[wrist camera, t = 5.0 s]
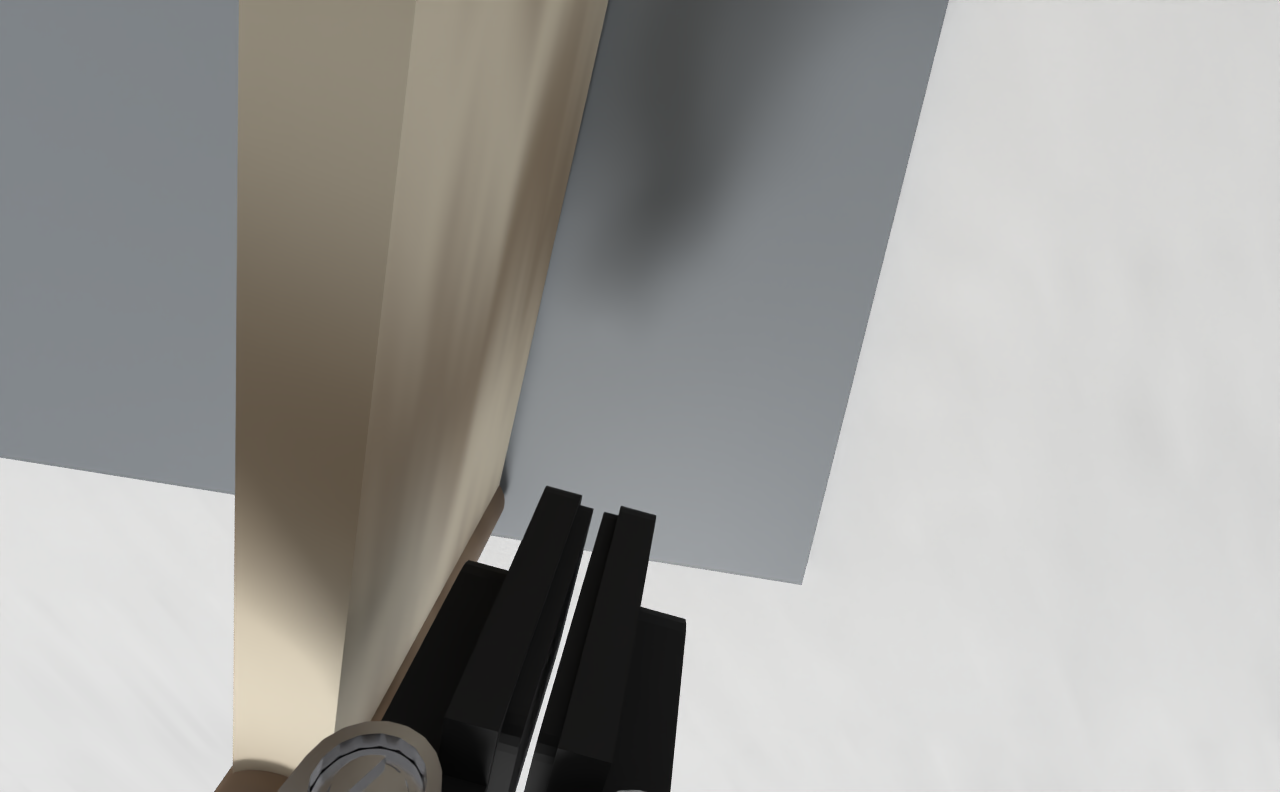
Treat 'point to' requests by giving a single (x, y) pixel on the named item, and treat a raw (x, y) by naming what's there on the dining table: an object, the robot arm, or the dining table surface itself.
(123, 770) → the dining table surface
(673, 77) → the board
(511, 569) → the robot arm
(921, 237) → the dining table surface
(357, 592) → the fence gate
